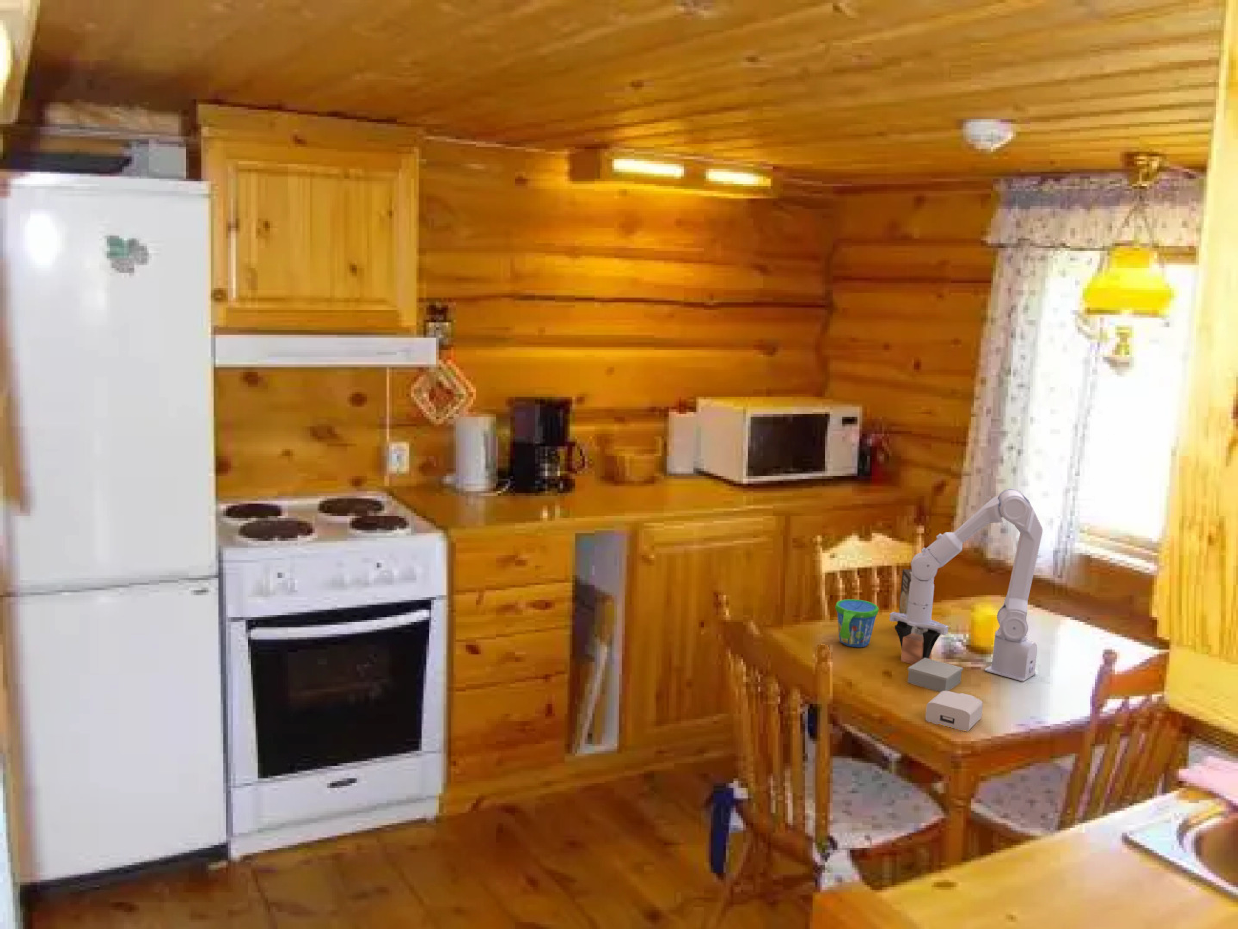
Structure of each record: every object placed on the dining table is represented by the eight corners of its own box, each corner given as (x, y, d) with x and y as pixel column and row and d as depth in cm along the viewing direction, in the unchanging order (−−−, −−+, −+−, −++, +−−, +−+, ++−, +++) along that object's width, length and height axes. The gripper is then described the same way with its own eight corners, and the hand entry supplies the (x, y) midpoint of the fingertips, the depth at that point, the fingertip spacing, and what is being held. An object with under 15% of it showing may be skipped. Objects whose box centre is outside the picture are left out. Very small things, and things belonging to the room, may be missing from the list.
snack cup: (859, 656, 274) (862, 616, 272) (821, 646, 281) (823, 607, 279) (886, 641, 286) (889, 603, 284) (849, 631, 293) (852, 594, 291)
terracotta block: (929, 661, 273) (931, 638, 271) (919, 666, 269) (921, 642, 268) (910, 656, 276) (912, 632, 275) (900, 660, 272) (902, 637, 271)
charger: (989, 711, 243) (968, 733, 231) (948, 701, 248) (925, 722, 236) (991, 691, 242) (970, 712, 230) (950, 681, 247) (926, 701, 235)
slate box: (961, 684, 259) (963, 667, 259) (945, 695, 252) (946, 678, 251) (923, 673, 265) (924, 657, 264) (906, 684, 258) (907, 667, 257)
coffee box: (896, 626, 299) (901, 568, 296) (920, 627, 299) (925, 569, 296) (904, 637, 290) (909, 578, 287) (929, 638, 290) (934, 579, 287)
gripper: (885, 598, 271) (880, 651, 274) (940, 612, 262) (935, 667, 264) (899, 593, 277) (894, 645, 279) (954, 606, 267) (948, 660, 270)
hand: (915, 655), depth 272 cm, fingers closed on terracotta block, 5 cm apart
